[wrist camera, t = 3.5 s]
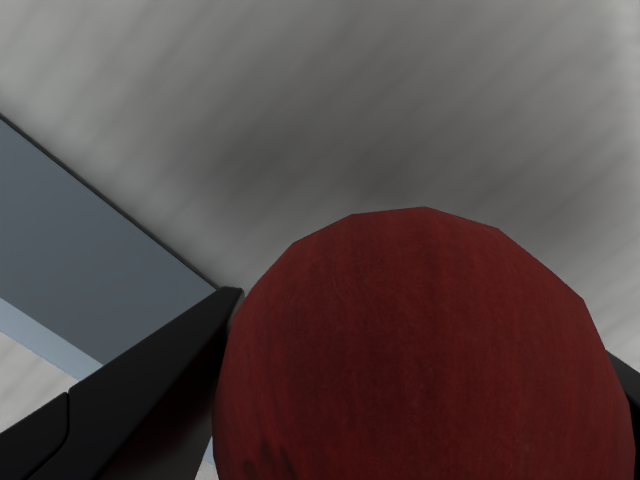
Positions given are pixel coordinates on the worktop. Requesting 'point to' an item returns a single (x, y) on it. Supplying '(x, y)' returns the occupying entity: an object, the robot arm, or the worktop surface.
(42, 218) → the door
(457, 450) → the onion
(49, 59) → the worktop surface
